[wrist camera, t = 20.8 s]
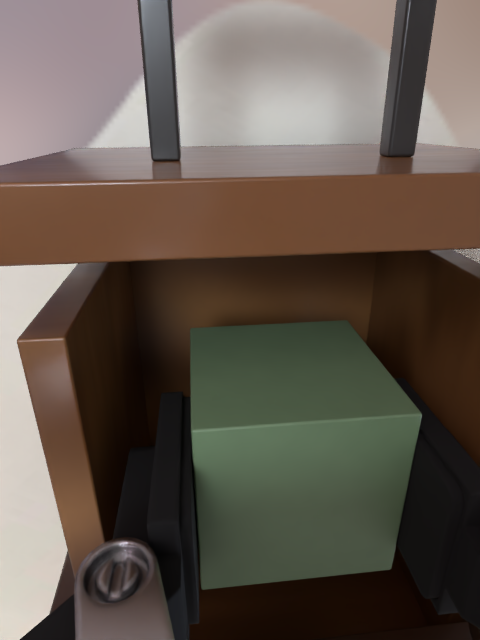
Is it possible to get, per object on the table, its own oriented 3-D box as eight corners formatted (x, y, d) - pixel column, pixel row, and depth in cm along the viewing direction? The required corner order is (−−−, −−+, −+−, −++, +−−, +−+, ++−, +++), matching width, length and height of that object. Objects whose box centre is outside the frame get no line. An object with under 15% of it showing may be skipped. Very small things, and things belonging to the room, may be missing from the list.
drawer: (37, -85, 12) (-304, -540, 4) (451, -72, 13) (901, -406, 5) (123, 475, 19) (77, 720, 12) (373, 455, 20) (488, 668, 13)
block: (189, 327, 12) (190, 431, 8) (347, 319, 13) (423, 413, 9) (197, 454, 14) (201, 591, 10) (334, 444, 14) (391, 570, 10)
